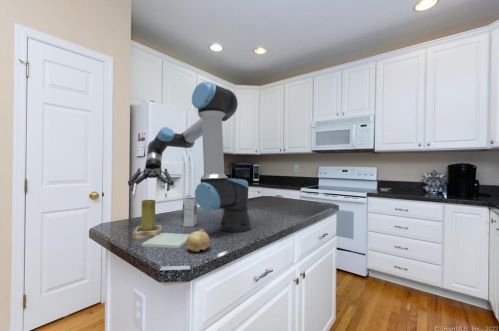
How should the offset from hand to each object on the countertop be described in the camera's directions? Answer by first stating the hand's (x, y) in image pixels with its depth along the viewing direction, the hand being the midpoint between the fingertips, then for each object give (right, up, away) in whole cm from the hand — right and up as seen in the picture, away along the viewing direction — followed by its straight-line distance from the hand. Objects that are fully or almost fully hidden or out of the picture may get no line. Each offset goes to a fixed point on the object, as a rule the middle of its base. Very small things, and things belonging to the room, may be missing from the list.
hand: (150, 195), depth 108 cm
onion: (+28, -15, -26) cm, 41 cm away
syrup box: (+16, -16, +7) cm, 24 cm away
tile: (+15, -15, -18) cm, 28 cm away
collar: (+3, -15, -9) cm, 18 cm away
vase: (+3, -15, -9) cm, 18 cm away
